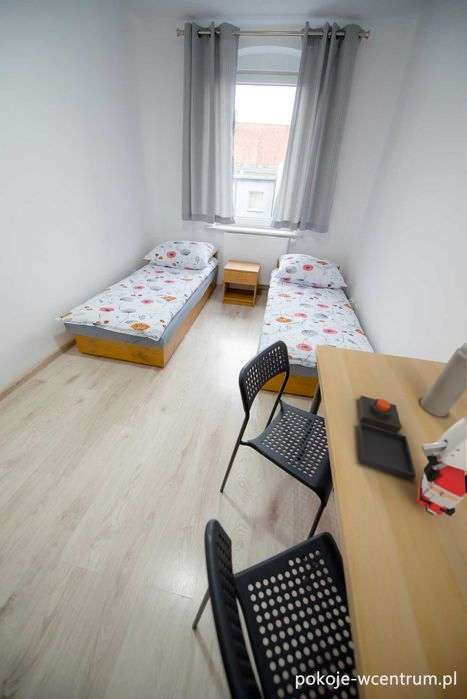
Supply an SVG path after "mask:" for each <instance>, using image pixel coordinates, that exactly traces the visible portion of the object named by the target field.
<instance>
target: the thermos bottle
mask: <svg viewBox="0 0 467 699" xmlns="http://www.w3.org/2000/svg"><path fill="white" fill-rule="evenodd" d="M434 380H435V381H434V382H433V383H432V385H431V386H430V387H429V389H428V391H426V393H425V395H424V396H423V397H422V399H421V402H420V404H421V406H422V408H423V409H424V411H425V410H426V411H427V412H428V413H430V414H432V415H434V416H436V417H445V416H447V415H448V413H449V412H450V411H451V409H453V407H454V406H455V404H457V402H458V401H459V400H460V398H461V397H462V396H463V395H464V392H465V391H466V390H467V342H464V344H462V345H461V346H460V347H458V348H457V349H455V351H454V352H453V354H452V355H451V357H450V358H449V360H448V361H447V362H446V364H445V365H444V367H443V369H442V370H441V372H440V373H439V374H438V376H437V377H436V379H434Z"/></svg>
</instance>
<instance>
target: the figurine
mask: <svg viewBox="0 0 467 699" xmlns="http://www.w3.org/2000/svg"><path fill="white" fill-rule="evenodd" d="M440 461H441V460H440V459H438V462H440ZM439 470H440V473H439V474H438V476H437V477H436V478H435V479H434V480H433V481H432V482H428V481H427V478H426V475H425V474H424V473H423V476H422V477H421V479H420V481H419V483H418V490H417V498H416V502H417V503H418V504H419V505H420V506H423V507H425V512H426V513H428V514H430V515H432V516H434V515H439V516H440V515H443V514H445V515H447V516H449V517H452V516H453V515H454V514H455V513H456V508H455V506H456V505H458V504H459V503H460V502H461V501H463V500H464V496H465V495H466V491H465V475H466V474H465V470H462V469H458V468H455V467H452V466H446V467H444V468H441V469H439Z"/></svg>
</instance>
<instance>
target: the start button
mask: <svg viewBox="0 0 467 699" xmlns="http://www.w3.org/2000/svg"><path fill="white" fill-rule="evenodd" d="M389 403H390V402H389V401H387V400H386V399H380V400H378V402H377V404H376V407H377V408H378V409H379V410H381V411H384V412H387V411H388V410H389V408H390V404H391V403H390V404H389Z"/></svg>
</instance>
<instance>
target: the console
mask: <svg viewBox="0 0 467 699" xmlns="http://www.w3.org/2000/svg"><path fill="white" fill-rule="evenodd" d="M378 400H380V399H379V398H372V397H368V396H365V395H360V396H359V399H358V400H357V403H358V417H359V423H364V424H367V425H370V426H374V427H377V428H380V429H383V430H387V431H390V432H393V433H397V434H399V432H400V431H401V429H402V424H401V421H400V416H399V412H398V408H397V404H394V403H390V402H388V403H389V404H390V408H389V410H388V411H387V412H384V411H381V410H379V409H378V408H377V407H376V404H377V402H378Z"/></svg>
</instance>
